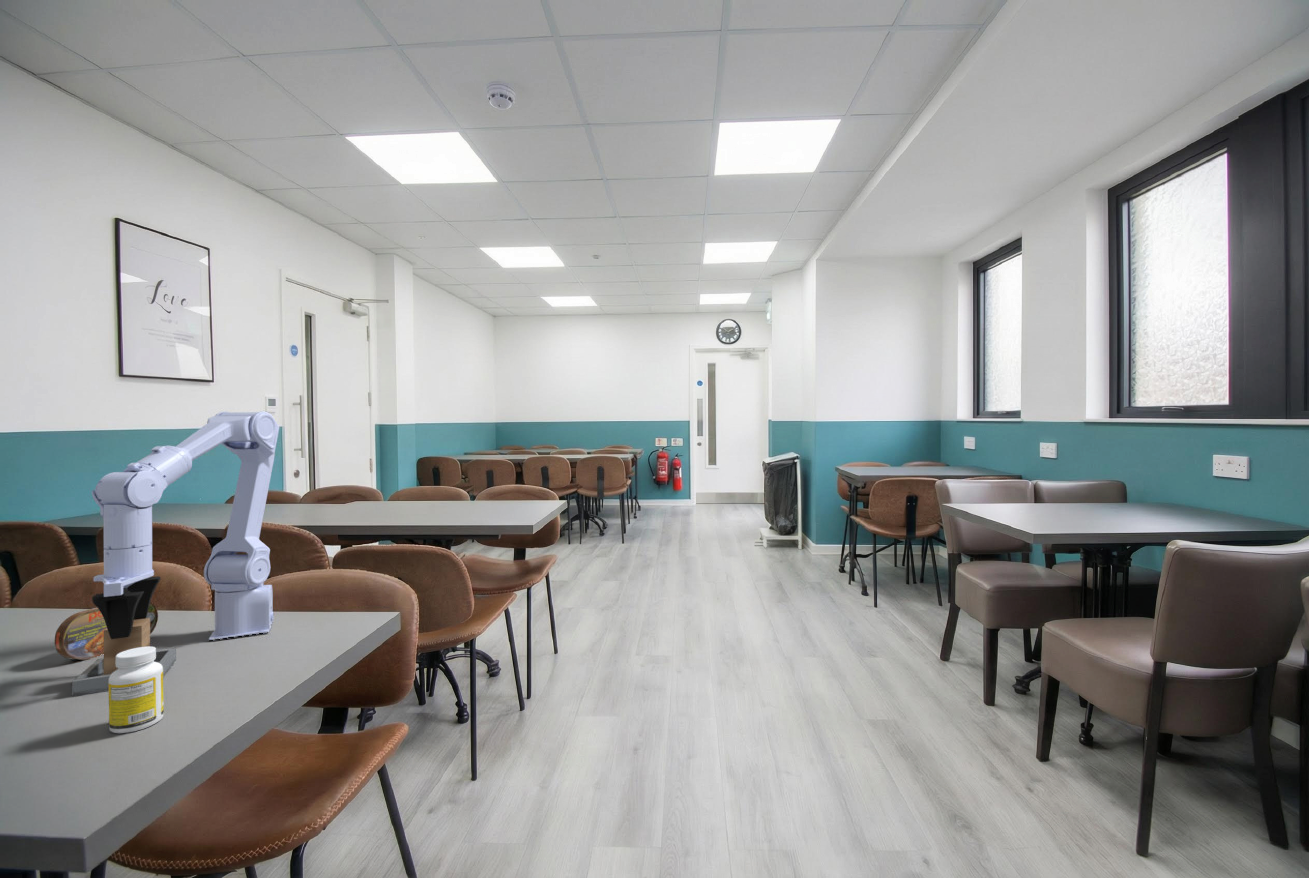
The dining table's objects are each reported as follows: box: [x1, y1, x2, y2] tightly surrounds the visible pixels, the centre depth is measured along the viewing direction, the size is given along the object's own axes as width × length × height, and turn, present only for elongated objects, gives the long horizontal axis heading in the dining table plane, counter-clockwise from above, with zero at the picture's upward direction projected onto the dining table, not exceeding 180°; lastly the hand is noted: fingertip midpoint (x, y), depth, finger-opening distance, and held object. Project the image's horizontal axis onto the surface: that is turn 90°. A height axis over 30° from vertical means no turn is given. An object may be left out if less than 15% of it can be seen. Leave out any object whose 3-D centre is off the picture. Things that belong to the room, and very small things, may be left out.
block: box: [103, 618, 151, 675], centre depth 90 cm, size 4×4×8 cm
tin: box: [54, 601, 159, 661], centre depth 102 cm, size 15×3×8 cm, turn 168°
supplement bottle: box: [108, 645, 165, 734], centre depth 75 cm, size 5×5×10 cm
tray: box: [71, 647, 177, 697], centre depth 90 cm, size 10×10×2 cm
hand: (128, 630), depth 90 cm, fingers open, 7 cm apart
